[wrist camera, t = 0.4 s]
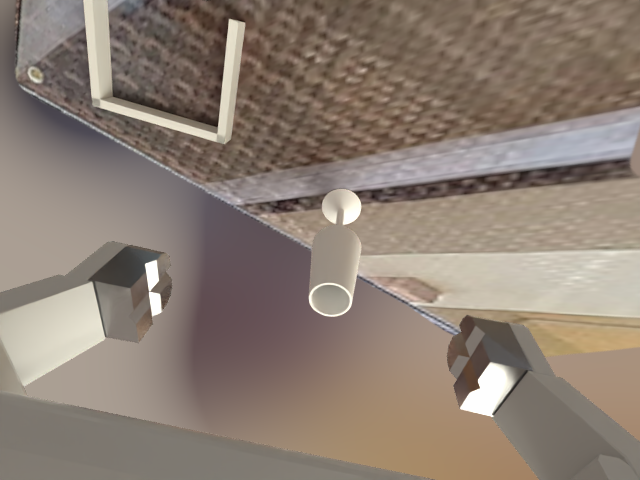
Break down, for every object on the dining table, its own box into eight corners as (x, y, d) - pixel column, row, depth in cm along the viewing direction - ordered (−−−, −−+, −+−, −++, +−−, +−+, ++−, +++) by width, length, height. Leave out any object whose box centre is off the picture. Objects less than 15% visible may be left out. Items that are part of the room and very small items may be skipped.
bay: (97, -23, 44) (81, -27, 42) (245, 22, 45) (238, 21, 43) (105, 102, 53) (92, 105, 50) (230, 139, 54) (224, 144, 51)
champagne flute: (313, 205, 58) (287, 296, 37) (343, 180, 55) (332, 264, 35) (339, 231, 60) (328, 331, 39) (369, 209, 57) (374, 304, 37)
